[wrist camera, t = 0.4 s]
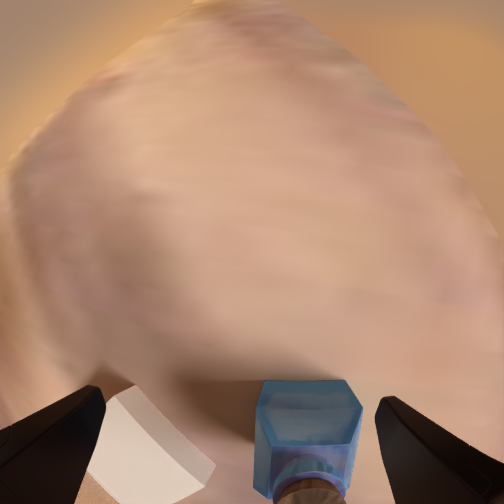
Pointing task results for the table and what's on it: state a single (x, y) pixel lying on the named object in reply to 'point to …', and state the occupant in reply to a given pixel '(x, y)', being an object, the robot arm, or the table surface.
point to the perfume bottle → (306, 441)
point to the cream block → (145, 454)
